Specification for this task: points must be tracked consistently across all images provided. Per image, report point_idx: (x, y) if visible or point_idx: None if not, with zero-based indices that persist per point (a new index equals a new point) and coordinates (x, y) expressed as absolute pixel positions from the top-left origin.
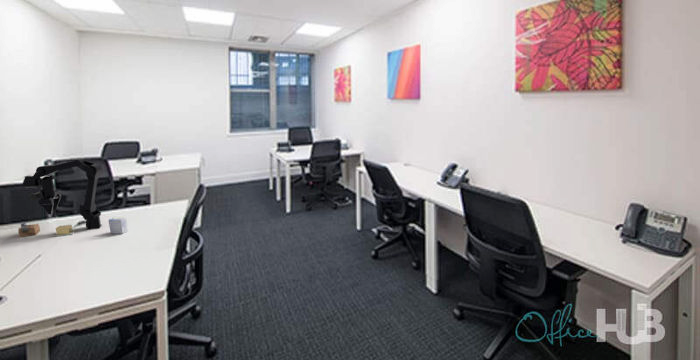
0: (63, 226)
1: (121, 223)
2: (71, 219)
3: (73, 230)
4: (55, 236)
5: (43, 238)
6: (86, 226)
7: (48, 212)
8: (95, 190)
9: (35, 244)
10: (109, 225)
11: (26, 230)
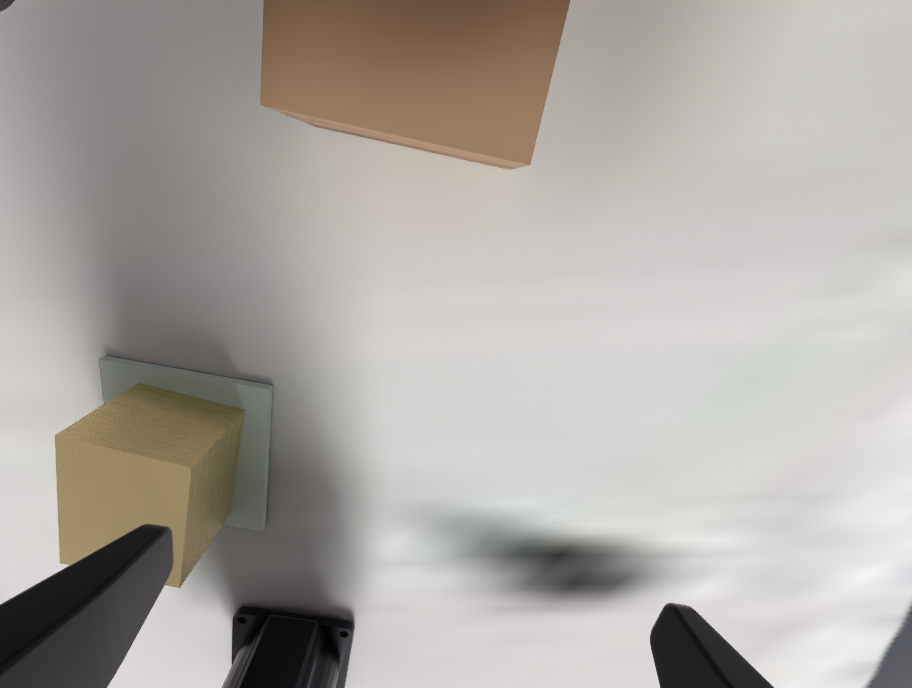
0: (129, 515)
1: None
2: (831, 485)
3: (255, 518)
4: (105, 367)
5: (84, 243)
6: (260, 633)
7: (52, 603)
8: None
9: None
10: None
11: None
